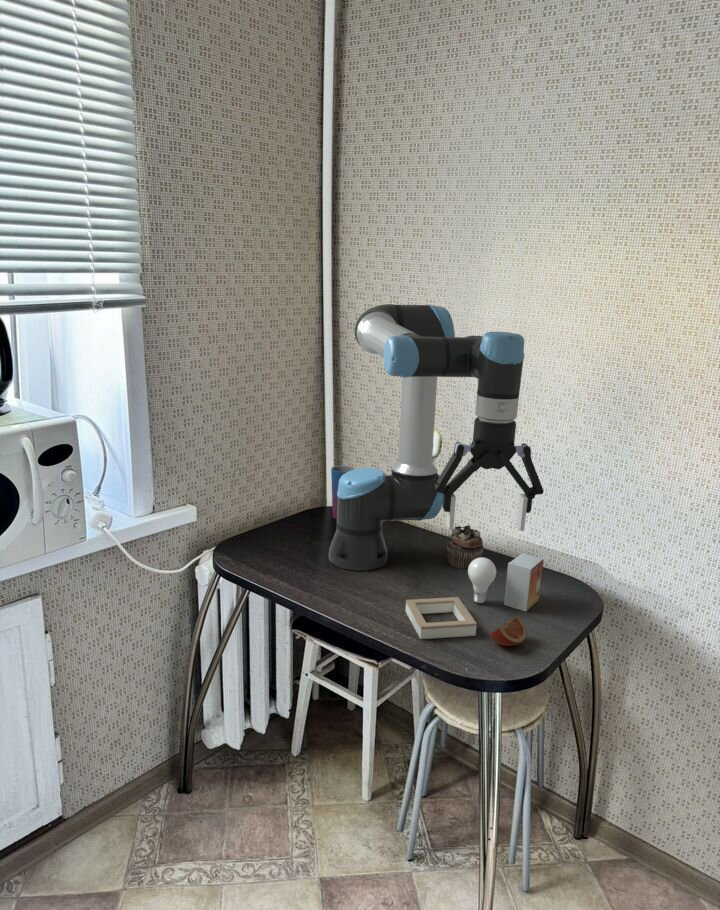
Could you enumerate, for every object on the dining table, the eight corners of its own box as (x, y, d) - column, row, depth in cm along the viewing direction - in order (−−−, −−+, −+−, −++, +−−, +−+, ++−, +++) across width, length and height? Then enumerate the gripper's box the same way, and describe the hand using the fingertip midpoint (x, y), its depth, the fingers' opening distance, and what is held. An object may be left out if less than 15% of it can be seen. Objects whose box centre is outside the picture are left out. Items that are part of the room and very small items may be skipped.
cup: (330, 520, 210) (331, 472, 206) (329, 512, 217) (330, 465, 213) (353, 520, 211) (355, 472, 207) (351, 512, 217) (353, 465, 213)
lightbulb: (474, 593, 168) (478, 550, 165) (498, 602, 164) (502, 558, 161) (459, 602, 163) (463, 558, 160) (484, 612, 159) (488, 566, 156)
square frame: (405, 611, 158) (406, 599, 157) (456, 608, 161) (457, 597, 160) (420, 639, 147) (421, 626, 146) (475, 635, 149) (476, 623, 149)
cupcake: (489, 564, 185) (493, 528, 182) (463, 573, 179) (467, 536, 176) (462, 552, 192) (466, 517, 189) (437, 560, 186) (440, 524, 183)
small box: (526, 612, 160) (531, 569, 157) (503, 605, 163) (507, 562, 160) (539, 600, 166) (544, 558, 164) (516, 593, 170) (521, 552, 167)
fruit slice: (505, 630, 152) (507, 609, 151) (532, 642, 148) (535, 621, 146) (482, 644, 146) (484, 622, 145) (511, 657, 142) (513, 635, 140)
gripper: (431, 421, 125) (423, 534, 131) (569, 425, 127) (555, 536, 133) (424, 412, 132) (416, 519, 138) (555, 415, 134) (542, 521, 140)
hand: (484, 528), depth 135 cm, fingers open, 13 cm apart
